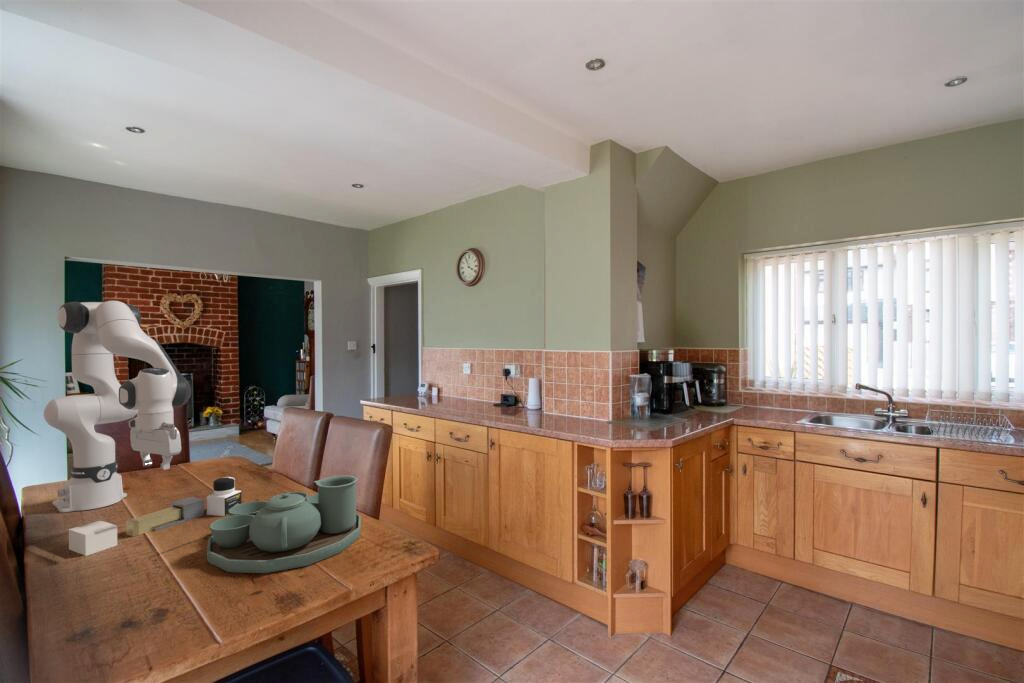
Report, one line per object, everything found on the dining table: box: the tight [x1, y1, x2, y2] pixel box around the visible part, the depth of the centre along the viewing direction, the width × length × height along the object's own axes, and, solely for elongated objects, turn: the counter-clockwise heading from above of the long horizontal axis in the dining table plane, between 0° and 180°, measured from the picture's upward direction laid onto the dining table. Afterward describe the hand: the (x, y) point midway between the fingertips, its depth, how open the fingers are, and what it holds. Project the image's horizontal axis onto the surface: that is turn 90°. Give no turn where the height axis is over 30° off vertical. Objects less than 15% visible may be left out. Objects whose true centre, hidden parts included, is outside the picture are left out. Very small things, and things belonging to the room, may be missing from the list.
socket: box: [68, 519, 118, 557], centre depth 129 cm, size 9×7×6 cm
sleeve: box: [153, 496, 205, 532], centre depth 147 cm, size 8×14×6 cm, turn 154°
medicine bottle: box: [206, 476, 242, 517], centre depth 155 cm, size 7×7×12 cm
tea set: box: [206, 474, 362, 574], centre depth 135 cm, size 40×40×16 cm
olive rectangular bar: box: [125, 506, 182, 538], centre depth 144 cm, size 4×16×4 cm, turn 154°
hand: (156, 467), depth 143 cm, fingers open, 8 cm apart
